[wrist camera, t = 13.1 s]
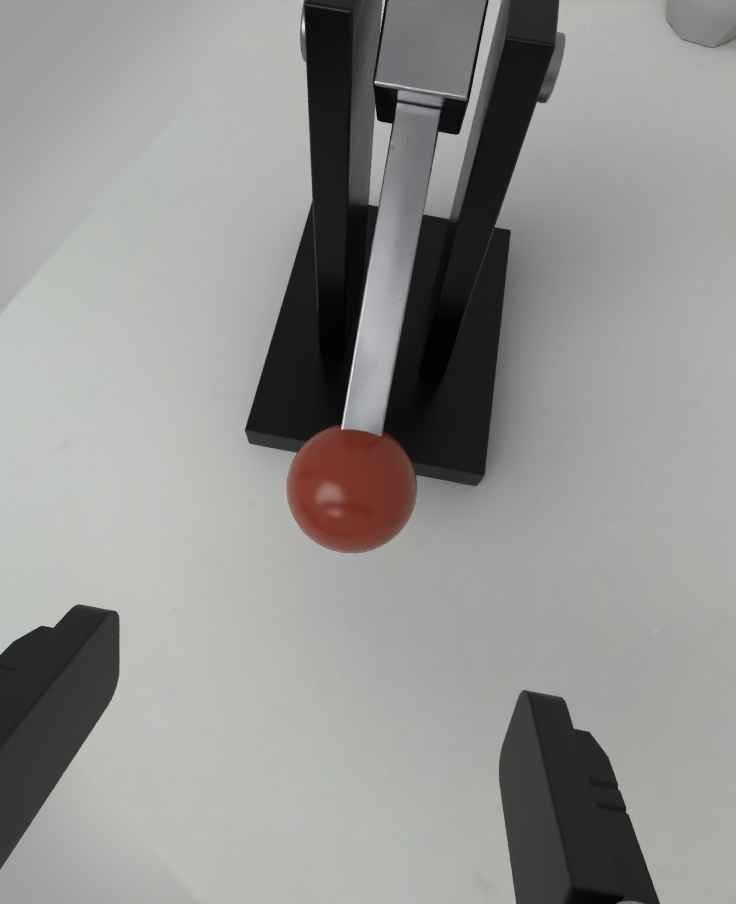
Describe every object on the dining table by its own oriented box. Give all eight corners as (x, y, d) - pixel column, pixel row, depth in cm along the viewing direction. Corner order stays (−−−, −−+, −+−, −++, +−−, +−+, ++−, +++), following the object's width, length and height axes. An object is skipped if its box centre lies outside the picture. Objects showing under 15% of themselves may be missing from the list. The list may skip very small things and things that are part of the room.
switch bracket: (477, 486, 22) (663, 208, 10) (248, 444, 23) (138, 116, 10) (503, 248, 27) (652, -148, 14) (314, 215, 27) (297, -206, 15)
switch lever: (403, 537, 18) (403, 586, 15) (291, 516, 18) (264, 560, 15) (505, 33, 15) (535, -57, 12) (370, 10, 15) (360, -86, 12)
